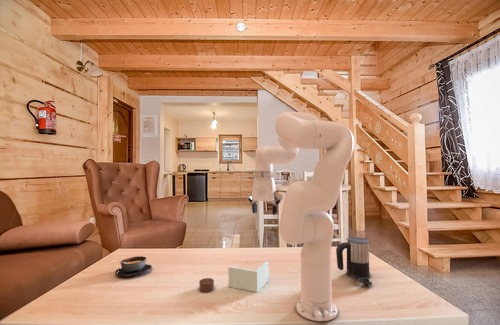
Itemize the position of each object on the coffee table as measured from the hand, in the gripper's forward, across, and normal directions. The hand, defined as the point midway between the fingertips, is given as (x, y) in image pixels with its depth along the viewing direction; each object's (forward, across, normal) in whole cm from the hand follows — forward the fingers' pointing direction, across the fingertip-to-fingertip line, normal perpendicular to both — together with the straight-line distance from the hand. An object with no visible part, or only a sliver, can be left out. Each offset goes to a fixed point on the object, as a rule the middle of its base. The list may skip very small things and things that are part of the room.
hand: (264, 213), depth 118 cm
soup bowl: (+25, -52, -28) cm, 64 cm away
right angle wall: (+25, 0, -15) cm, 29 cm away
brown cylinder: (+25, -12, -26) cm, 38 cm away
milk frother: (+25, +38, +8) cm, 47 cm away
